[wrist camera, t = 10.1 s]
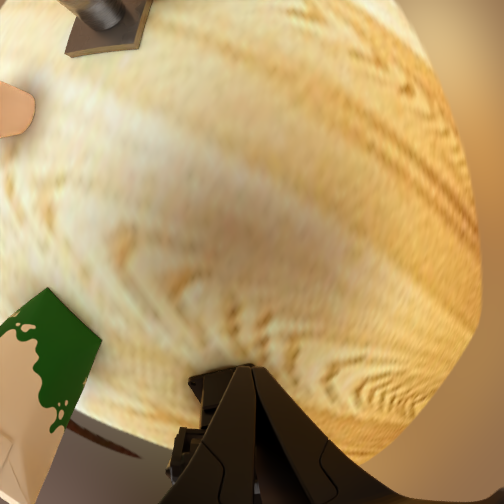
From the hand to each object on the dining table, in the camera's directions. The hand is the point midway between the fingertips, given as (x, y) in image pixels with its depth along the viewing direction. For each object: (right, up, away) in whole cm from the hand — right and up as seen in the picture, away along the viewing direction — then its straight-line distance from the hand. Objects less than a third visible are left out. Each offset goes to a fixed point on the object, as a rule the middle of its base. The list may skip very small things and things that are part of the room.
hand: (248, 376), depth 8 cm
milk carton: (-18, -4, +14) cm, 23 cm away
